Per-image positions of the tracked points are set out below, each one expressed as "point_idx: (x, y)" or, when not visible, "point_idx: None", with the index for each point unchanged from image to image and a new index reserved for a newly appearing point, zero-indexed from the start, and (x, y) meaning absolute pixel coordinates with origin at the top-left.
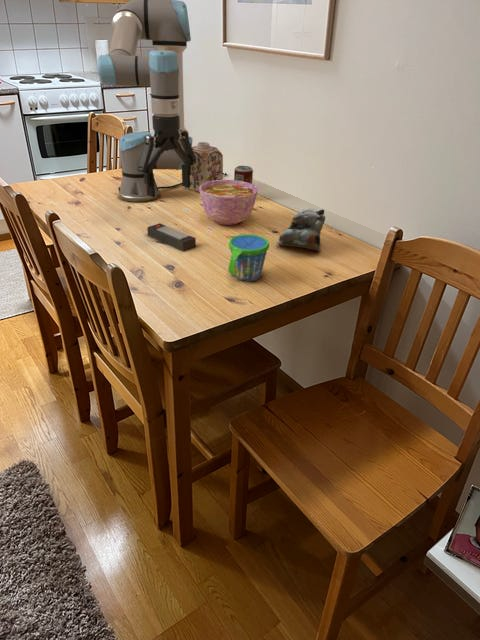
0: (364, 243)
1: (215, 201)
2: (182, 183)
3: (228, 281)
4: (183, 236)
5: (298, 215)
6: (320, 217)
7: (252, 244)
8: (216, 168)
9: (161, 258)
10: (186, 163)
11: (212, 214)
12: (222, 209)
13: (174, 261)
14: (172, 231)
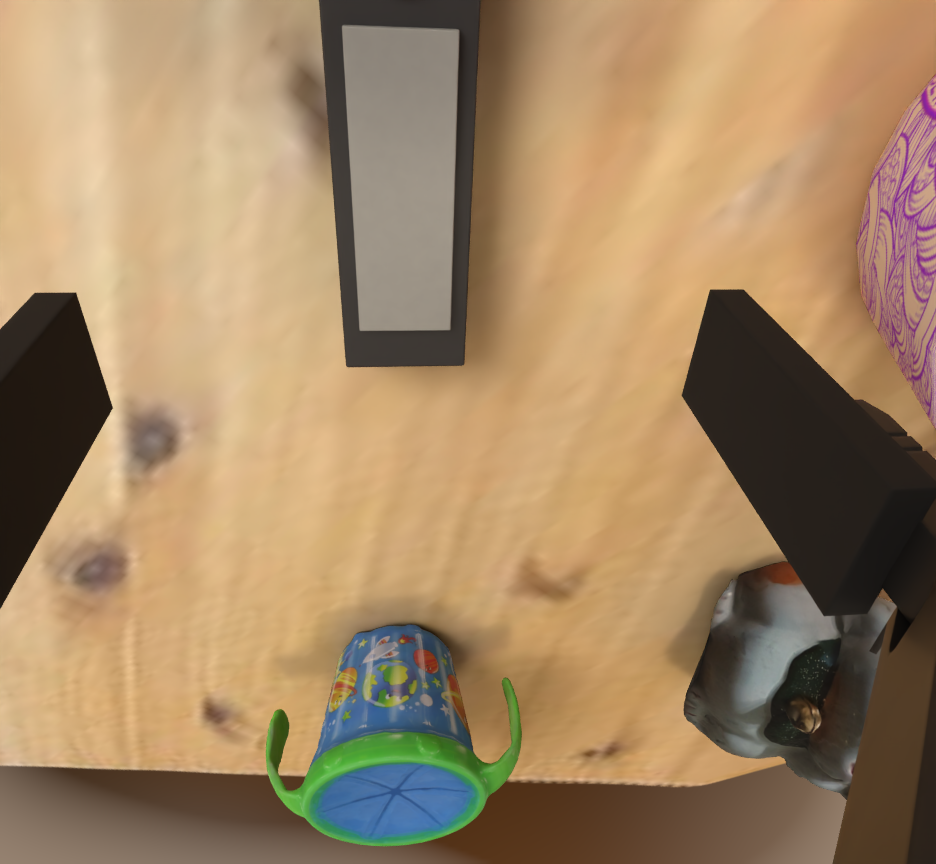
0: None
1: (909, 321)
2: (725, 311)
3: (302, 645)
4: (404, 317)
5: None
6: None
7: (409, 796)
8: None
9: (168, 327)
10: (916, 581)
11: (873, 204)
12: (884, 332)
13: (216, 402)
14: (408, 186)
